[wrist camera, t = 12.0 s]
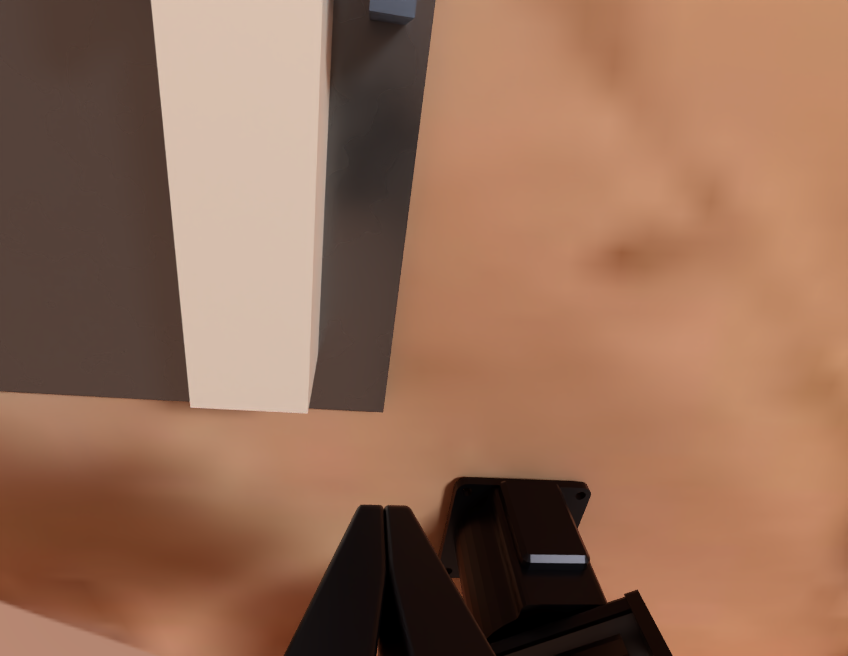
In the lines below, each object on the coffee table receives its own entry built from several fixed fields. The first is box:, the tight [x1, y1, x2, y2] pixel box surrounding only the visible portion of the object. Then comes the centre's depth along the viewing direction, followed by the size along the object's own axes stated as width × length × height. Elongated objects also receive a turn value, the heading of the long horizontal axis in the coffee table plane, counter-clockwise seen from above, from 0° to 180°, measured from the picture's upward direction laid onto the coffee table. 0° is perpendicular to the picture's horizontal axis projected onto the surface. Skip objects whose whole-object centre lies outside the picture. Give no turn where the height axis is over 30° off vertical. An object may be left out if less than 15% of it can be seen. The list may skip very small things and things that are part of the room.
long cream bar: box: [151, 0, 334, 413], centre depth 13 cm, size 17×4×4 cm, turn 172°
